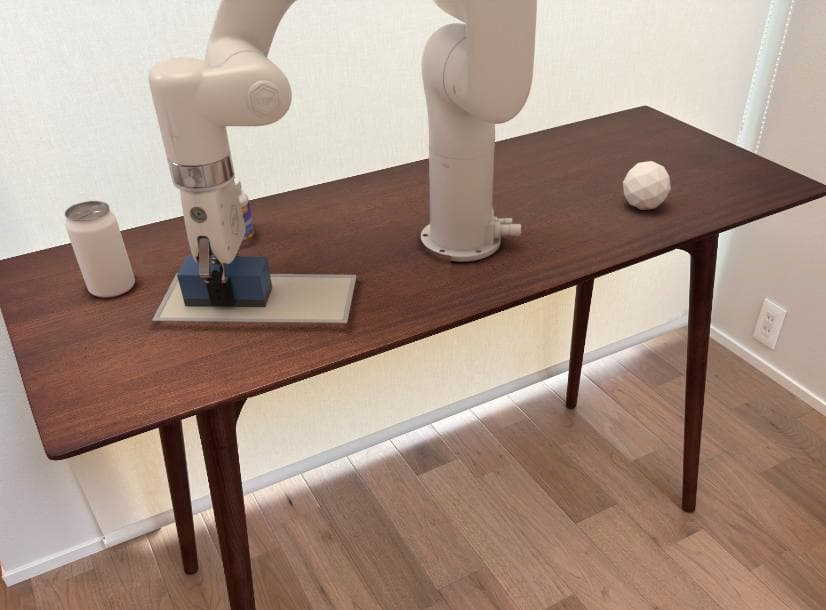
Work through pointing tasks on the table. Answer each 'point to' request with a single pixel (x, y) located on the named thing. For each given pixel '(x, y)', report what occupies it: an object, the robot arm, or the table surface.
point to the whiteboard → (273, 302)
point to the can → (99, 249)
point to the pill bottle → (245, 210)
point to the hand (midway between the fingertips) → (228, 291)
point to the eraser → (245, 278)
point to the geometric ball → (646, 185)
